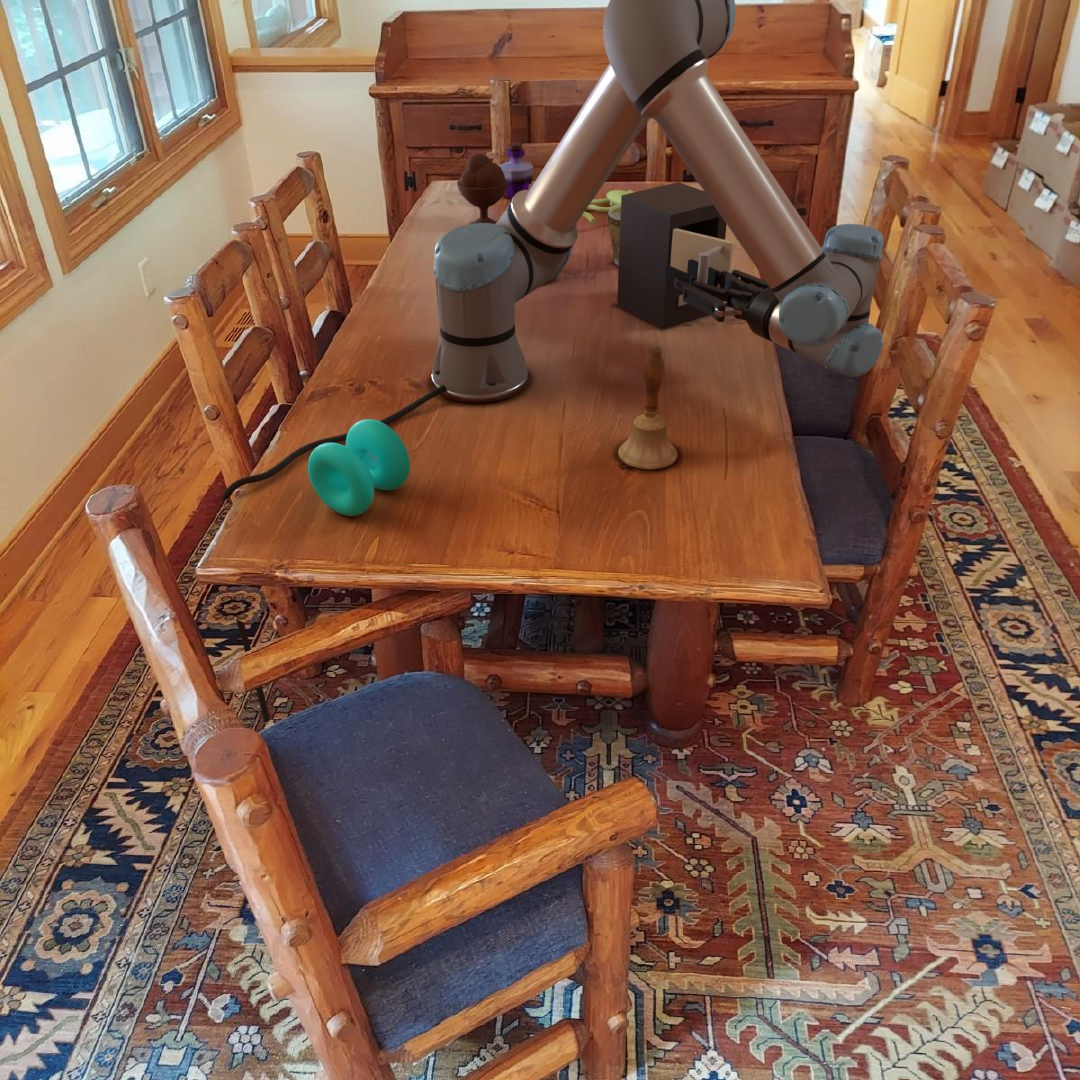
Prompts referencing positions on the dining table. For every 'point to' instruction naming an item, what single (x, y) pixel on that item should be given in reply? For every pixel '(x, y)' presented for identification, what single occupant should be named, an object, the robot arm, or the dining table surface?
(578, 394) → the dining table surface
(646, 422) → the hand bell
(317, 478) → the teal yo-yo
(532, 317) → the dining table surface
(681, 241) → the chamber door
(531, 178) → the potion bottle
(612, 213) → the ceramic cup
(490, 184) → the ice cream bowl
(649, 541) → the dining table surface
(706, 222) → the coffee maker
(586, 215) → the figurine
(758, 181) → the robot arm
